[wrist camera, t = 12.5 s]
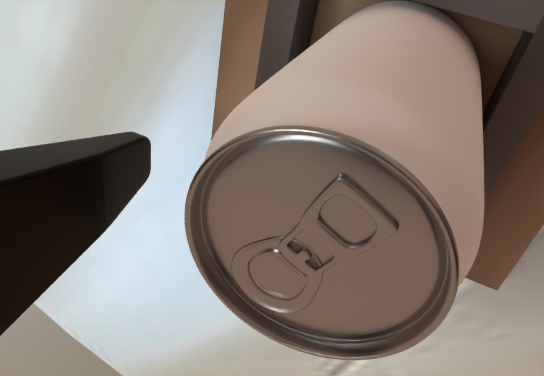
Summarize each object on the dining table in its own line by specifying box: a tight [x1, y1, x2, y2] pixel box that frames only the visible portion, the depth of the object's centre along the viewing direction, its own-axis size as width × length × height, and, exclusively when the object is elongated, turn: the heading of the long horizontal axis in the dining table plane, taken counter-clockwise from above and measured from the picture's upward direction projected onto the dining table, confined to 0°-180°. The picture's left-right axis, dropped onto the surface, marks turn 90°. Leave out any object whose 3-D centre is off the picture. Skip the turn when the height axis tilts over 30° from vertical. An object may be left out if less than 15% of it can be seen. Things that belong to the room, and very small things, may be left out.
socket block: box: [211, 0, 544, 290], centre depth 18 cm, size 16×16×4 cm
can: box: [185, 1, 484, 360], centre depth 14 cm, size 6×6×12 cm
